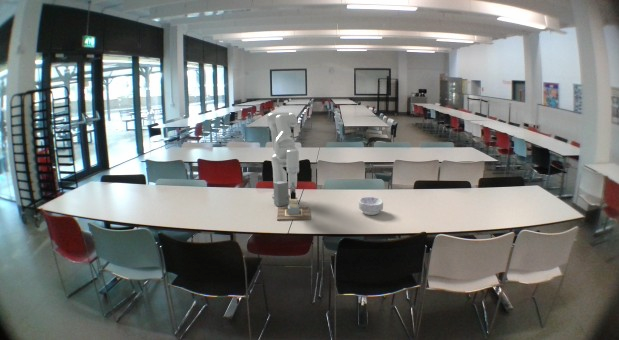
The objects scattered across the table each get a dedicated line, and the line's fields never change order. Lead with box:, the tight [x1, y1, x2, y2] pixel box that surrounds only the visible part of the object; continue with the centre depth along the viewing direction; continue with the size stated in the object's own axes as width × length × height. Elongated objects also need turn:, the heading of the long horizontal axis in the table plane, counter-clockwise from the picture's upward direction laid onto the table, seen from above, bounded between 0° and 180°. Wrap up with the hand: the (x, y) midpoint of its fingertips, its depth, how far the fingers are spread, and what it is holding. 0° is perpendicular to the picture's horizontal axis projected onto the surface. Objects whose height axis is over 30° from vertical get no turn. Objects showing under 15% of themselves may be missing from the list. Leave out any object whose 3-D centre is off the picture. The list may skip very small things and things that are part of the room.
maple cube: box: [289, 196, 298, 208], centre depth 218 cm, size 5×5×5 cm
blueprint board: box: [276, 203, 311, 222], centre depth 219 cm, size 20×20×5 cm
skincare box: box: [273, 181, 290, 208], centre depth 235 cm, size 8×7×16 cm
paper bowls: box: [358, 196, 384, 216], centre depth 220 cm, size 15×15×8 cm
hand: (293, 196), depth 217 cm, fingers open, 9 cm apart
